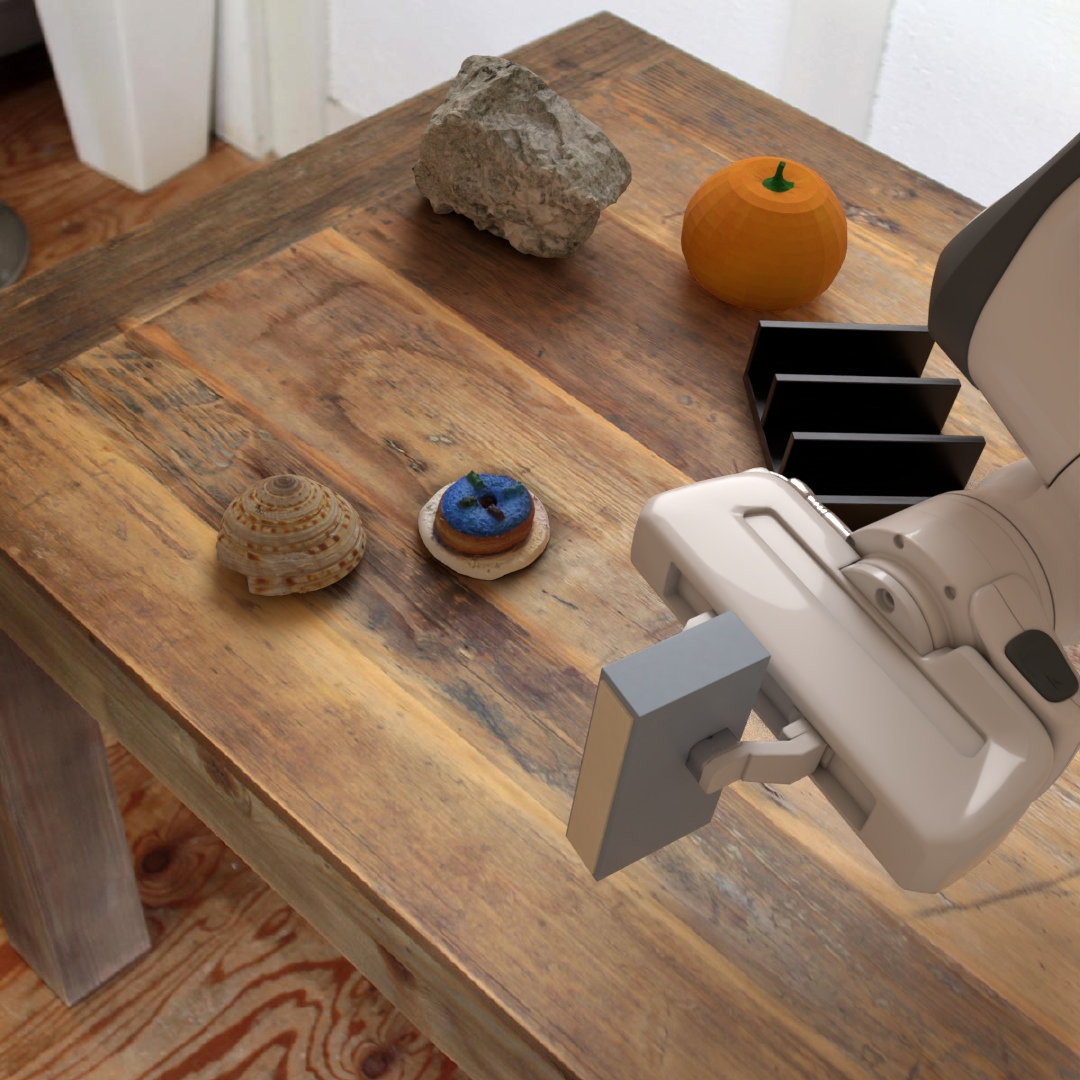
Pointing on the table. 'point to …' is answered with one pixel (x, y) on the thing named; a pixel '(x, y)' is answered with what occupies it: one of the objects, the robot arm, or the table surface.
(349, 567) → the seashell
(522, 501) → the dessert
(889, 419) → the rack
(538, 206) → the stone
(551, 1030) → the table surface
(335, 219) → the table surface
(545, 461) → the table surface
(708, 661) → the grey rectangular block
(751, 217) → the fruit
